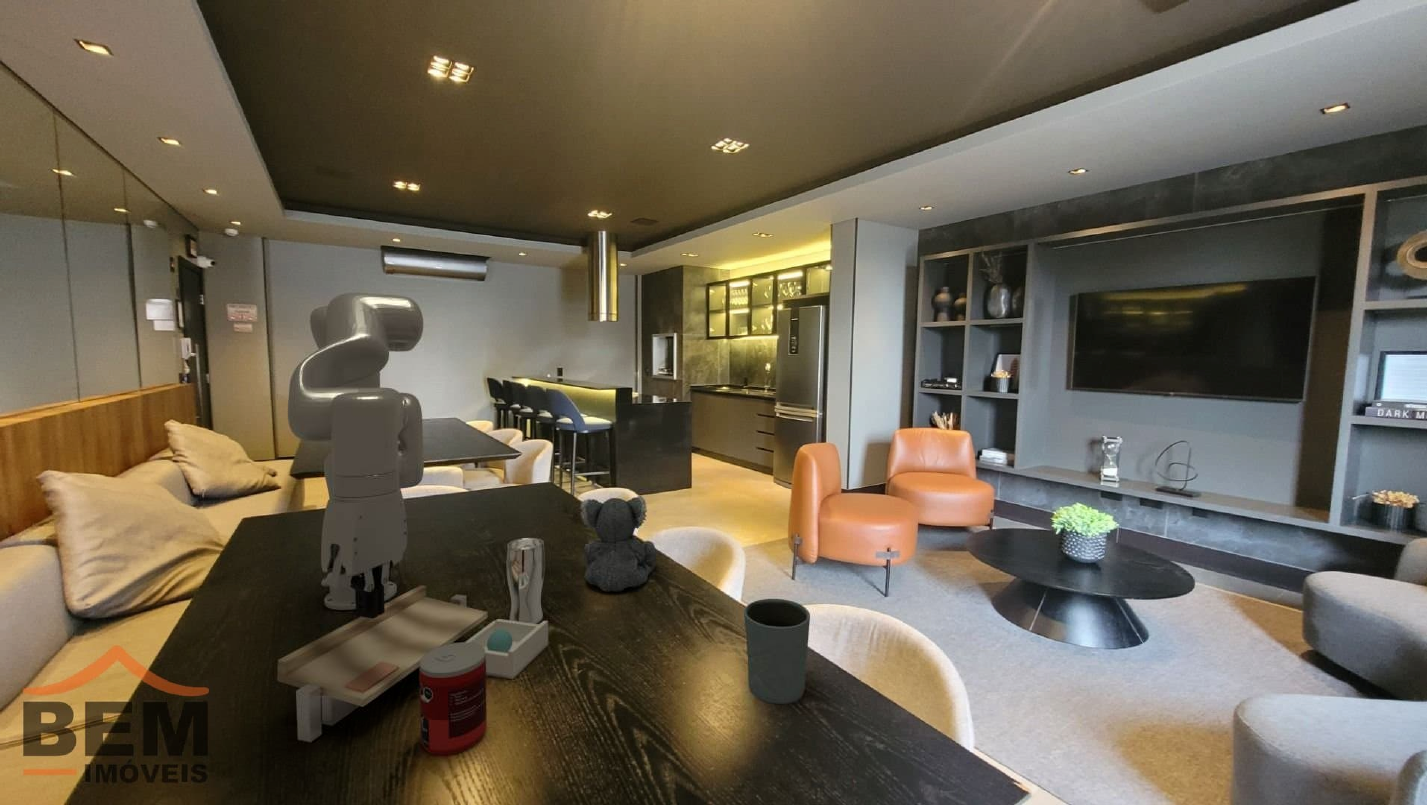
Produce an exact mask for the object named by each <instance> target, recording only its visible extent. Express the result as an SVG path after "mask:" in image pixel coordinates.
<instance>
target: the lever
mask: <svg viewBox="0 0 1427 805" xmlns="http://www.w3.org/2000/svg"><path fill="white" fill-rule="evenodd" d="M384 604H385V612H384V613H383V614H381V615H378V617H376V618H374V619H372V618H366V617H360V616H358V618H355V619H353V620H352V621H350V622H348V623H346V624H344V625H342V626H340V627H338V628H336V629H335V630H333V631H331V632H329V633H327V634H325V635H323V636H322V637H318V639H315V640H313V641H312V642H310V643H308V644H306V645H304V646H302V647H300V648H299V649H296V650H294V651H293V652H291V653H289V654H287V655H285V656H283V657H282V658H279V659H278V661H277V677H276V678H277V679H276V680H277V682H278V683H279V682H280V683H283V684H287V685H290V686H293V687H296V688H299V689H300V688H302V687H304V686H305V685H307V684H311V685H316V686H320V697H321V698H322V696H323V695H325V696H329V697H332V698H335V699H339V700H342V701H345V702H348V703H352V704H355V705H358V706H359V707H362V708H363V707H364V706H367V705H368V704H369V703H370V702H372V701H373V700H375V699H376V698H377V697H379V696H380V695H381V694H383V693H384V692H386V691H387V690H388V689H390V688H391V687H393V686H395V685H396V684H397V683H399V682H400V681H402V680H403V679H405V678H406V677H407V676H408V675H409V674H411V673H412V672H414V671H415V670H417V669H419V666H420V661H421V659H422V657H423V656H424V655H425V654H427V653H428V652H430V651H432V650H434V649H436V648H438V647H441V646H444V645H448V644H452V643H455V641H457V640H459V638H461V637H463V636H464V635H465V634H467V633H468V632H470V631H471V630H472V629H474V628H476V626H478V625H479V624H481V623H482V622H483V621H485V620H486V619H488V617H489V616H488V614H489V612H488V611H484V610H480V609H476V608H472V607H469V606H466V607H464V606H460V605H456V604H452V603H451V602H447V601H443V600H439V599H435V598H432V597H428V596H427V586H426V585H421V584H420V585H419V586H417V587H415V588H413V589H411V590H409V591H407V592H405V593H403V594H401V595H400V596H399V595H398V596H397V597H396V598H393V599H392V600H390V601H388V602H386V603H384Z"/></svg>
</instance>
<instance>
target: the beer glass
mask: <svg viewBox="0 0 1427 805" xmlns="http://www.w3.org/2000/svg"><path fill="white" fill-rule="evenodd" d="M544 543H545V542H544V541H543V539H541V538H536V537H522V538H518V539H514V540H512V541H511V540H510V542H508V543H507V545H506V546H507V550H506V551H507V552H506V565H505V566H506V577H507V584H508V589H509V594H510V599H511V608H510V613H509V619H508V620H510V621H517V622H525V623H532V624H540V623H541V621H542V620H543V618H544V615H543V610H542V604H541V603H542V602H541V599H542V596H541V595H542V589H543V584H544V577H545V572H546V571H545V570H546V557H545V556H546V555H545V545H544Z"/></svg>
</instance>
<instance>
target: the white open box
mask: <svg viewBox="0 0 1427 805" xmlns="http://www.w3.org/2000/svg"><path fill="white" fill-rule="evenodd" d="M498 630H505V631H507V632H509V633H510V634H511V636H512V640H513V642H512V646H511V648H510V650H509V651H508V652H507V653H503V652H496V651H490V650H488V648H487V641H488V639H489V637H490V635H491V634H492V633H494V632H495V631H498ZM465 642H467V643H475V644H478V645H480V646H482V647H483V648H484V649H485V654H486V676H490V677H497V678H504V679H509V680H515V678H516V677H517V676H518V675H519V674H520V673H521V672H522V671H523V670H524V669H525V668H526V667H528V665H529V664H530V663H532V662H533V661H534V660H535V659H536V658H537V657H538V656H539V655H540V654H541V653H542V652H543V651H544V650H545V649H546V648H547V647H548V646H549V621H548V620H543V621H542V622H539V623H537V624H532V623H525V622H517V621H510V620H509V619H501V618H497V619H496V620H493V621H492V622H490V623H489V624H487V625H486V626H485V627H483V628H482V629H481V630H479V631H478V632H476V633H475V634H474V635H473V636H471V637H470V638H469V639H467V640H466V641H465Z"/></svg>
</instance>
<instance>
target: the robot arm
mask: <svg viewBox="0 0 1427 805" xmlns="http://www.w3.org/2000/svg"><path fill="white" fill-rule="evenodd" d="M309 325H310V330H311V334H312V338H313V339H314V342H315V344H316V346H317V350H315V351H314V352H313V353H311V354H309V355H308V356H307V357H305V358H304V359H303V360H302V361H301V362H299V364H298V365H297V366H296V367H295V369H294V370H293V372H292V374H291V377H290V381H289V388H288V400H287V420H288V425H289V429H290V432H292V433H293V435H294V436H295V437H296V438H298V439H299V440H302V441H305V442H312V443H313V442H329V441H331V452H330V453H329V454H328V455H327V456H326V458H325V460H324V463H323V472H324V477H325V483H326V484H325V485H326V488H327V491H328V500H327V502H326V506H325V510H324V516H323V521H322V531H321V547H320V548H321V550H320V554H321V555H320V563H321V570H322V572H323V573H324V574H325V573H326V574H327V575H326V578H323V579H322V581H321V582H320V585H321V586H324V587H329V593H328V594H326V596H324V606H325V607H327V608H328V609H331V610H336V611H351V610H355V615H356V616H357V617H366V618H372V619H374V618H376V617H378V615H381V614H383V613H384V612H385V604H386V603H385V602H386V601H387V600H390V599H391V598H393V597H394V596H395V594H397V589H398V588H397V587H398V586H397V584H396V583H395V582H392V581H389V574H390V572H391V570H392V569H393V567H394V566H395V565H396V564H398V563H399V562H401V561H402V559H403V558H404V555H403V554H404V553H405V552H406V550H407V546H408V545H407V544H408V525H407V523H408V522H407V514H406V508H405V500H404V497H403V493H402V489H410V488H413V487H416V486H418V485H420V483H421V482H422V481H423V478H424V469H425V462H424V461H425V460H424V459H425V458H424V457H425V456H424V430H423V429H424V426H423V424H424V423H423V411H422V406H421V404H420V401H419V399H418V398H417V397H416V396H415V394H412V393H408V392H400V391H398V390H396V389H394V388H391V387H381V371H382V370H383V369H384V368H385V367H386V366H387V364H388V362H389V360H390V352H397V353H399V352H409V351H412V350H413V349H415V347H416V346H417V345H418V343H419V342H420V340H421V338H422V337H423V336H422V335H423V333H424V332H423V331H424V317H423V313H422V310H421V308H420V306H419V304H418V303H417V302H416V301H415V300H414V299H412V298H411V297H408V296H406V295H405V296H403V295H393V294H380V293H368V292H367V293H365V292H346V293H342V294H339V295H337V296H335V297H334V298H332V300H330V301H329V303H328V305H322V306H320V307H319V306H318V307H317V308H314V310H312V312H311V313H310V317H309Z"/></svg>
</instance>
